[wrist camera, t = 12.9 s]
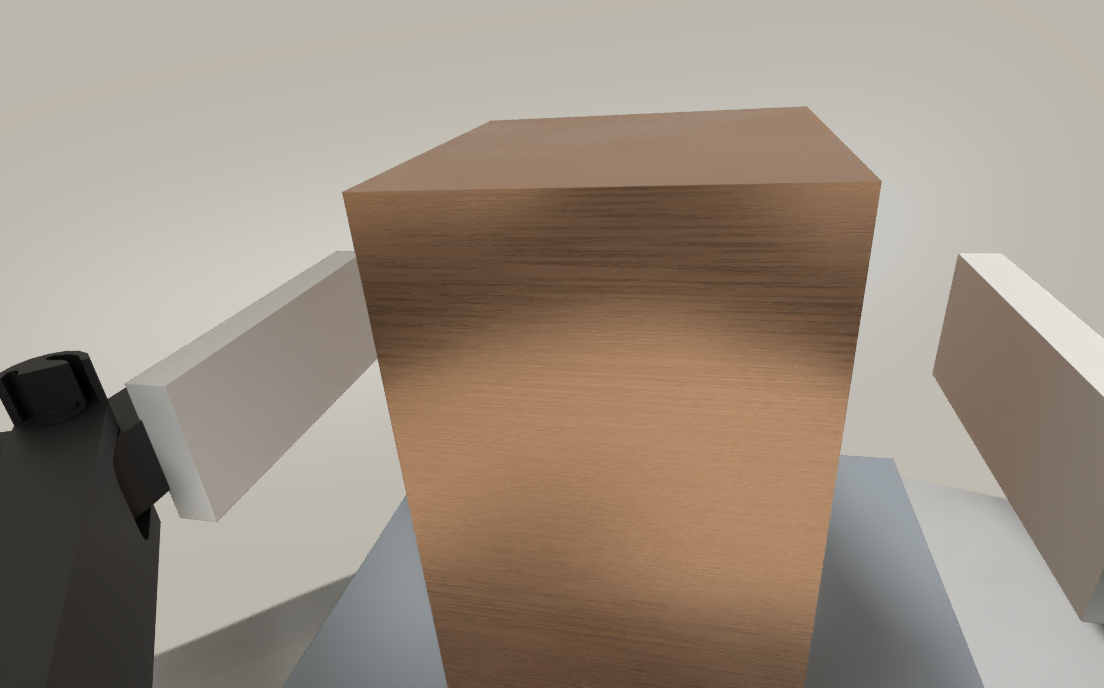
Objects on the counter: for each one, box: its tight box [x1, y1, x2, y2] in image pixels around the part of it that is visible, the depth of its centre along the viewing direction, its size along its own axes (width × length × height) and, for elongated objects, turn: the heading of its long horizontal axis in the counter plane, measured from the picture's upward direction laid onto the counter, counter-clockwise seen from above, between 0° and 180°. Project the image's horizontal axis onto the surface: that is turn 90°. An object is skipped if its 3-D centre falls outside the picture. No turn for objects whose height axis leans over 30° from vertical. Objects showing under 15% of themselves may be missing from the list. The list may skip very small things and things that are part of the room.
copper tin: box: [342, 107, 882, 688], centre depth 14 cm, size 7×7×12 cm
